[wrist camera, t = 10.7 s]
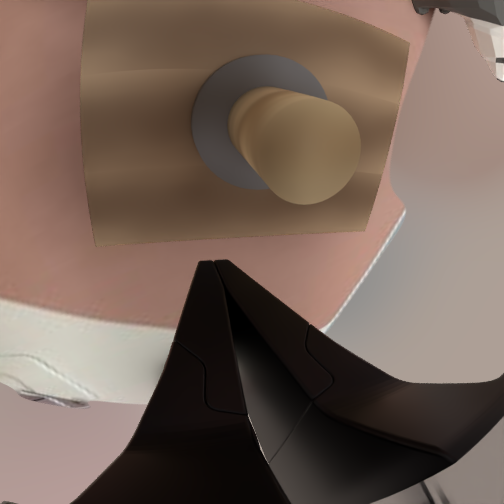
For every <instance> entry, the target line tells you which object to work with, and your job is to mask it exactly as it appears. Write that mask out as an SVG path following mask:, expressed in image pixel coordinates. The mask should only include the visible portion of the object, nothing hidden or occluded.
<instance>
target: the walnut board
mask: <svg viewBox="0 0 504 504" xmlns="http://www.w3.org/2000/svg"><path fill="white" fill-rule="evenodd" d="M409 46H410V43H409V42H407V41H405V40H403V39H401V38H399V37H397V36H395V35H393V34H391V33H389V32H386V31H384V30H382V29H380V28H377V27H375V26H372V25H370V24H368V23H365V22H363V21H360V20H357V19H355V18H352V17H349V16H347V15H344V14H341V13H338V12H335V11H332V10H329V9H326V8H322V7H319V6H316V5H312V4H308V3H305V2H301V1H297V0H88V2H87V8H86V15H85V23H84V32H83V42H82V55H81V76H80V118H81V140H82V154H83V165H84V175H85V184H86V192H87V199H88V206H89V212H90V219H91V224H92V230H93V235H94V241H95V246H96V247H99V246H112V245H126V244H140V243H155V242H170V241H185V240H202V239H218V238H236V237H254V236H273V235H293V234H314V233H336V232H360V231H365V229H366V226H367V223H368V220H369V217H370V214H371V211H372V208H373V204H374V201H375V198H376V195H377V191H378V188H379V184H380V181H381V177H382V174H383V170H384V167H385V163H386V159H387V155H388V151H389V147H390V144H391V139H392V135H393V131H394V127H395V122H396V118H397V113H398V109H399V104H400V99H401V94H402V89H403V83H404V78H405V72H406V66H407V60H408V53H409ZM266 54H267V55H277V56H281V57H285V58H288V59H290V60H293V61H295V62H297V63H299V64H300V65H302V66H303V67H305V68H306V69H307V70H309V71H310V72H311V73H312V74H313V75H314V76H315V77H316V79H317V80H318V81H319V83H320V84H321V86H322V88H323V89H324V91H325V94H326V96H327V99H328V101H331V102H333V103H335V104H338V105H339V106H341V107H342V108H344V109H345V110H346V111H347V112H348V113H349V114H350V115H351V117H352V118H353V120H354V121H355V123H356V125H357V127H358V130H359V134H360V139H361V153H360V158H359V162H358V165H357V167H356V170H355V172H354V174H353V176H352V177H351V179H350V180H349V181H348V183H347V184H346V185H345V186H344V187H343V188H342V189H341V190H340V191H339V192H338V193H336V194H335V195H334V196H332V197H330V198H328V199H326V200H324V201H322V202H318V203H314V204H307V205H302V204H294V203H291V202H288V201H285V200H283V199H282V198H280V197H279V196H277V195H276V194H275V193H274V192H273V191H272V190H271V189H262V190H254V189H245V188H240V187H237V186H234V185H232V184H230V183H227V182H225V181H224V180H222V179H221V178H219V177H218V176H217V175H215V174H214V173H213V172H212V171H211V170H210V169H209V168H208V167H207V165H206V164H205V163H204V161H203V160H202V158H201V156H200V154H199V152H198V150H197V148H196V145H195V143H194V139H193V136H192V130H191V114H192V108H193V104H194V101H195V98H196V96H197V94H198V92H199V90H200V88H201V87H202V85H203V84H204V82H205V81H206V80H207V79H208V78H209V76H210V75H212V74H213V73H214V72H215V71H216V70H217V69H219V68H220V67H222V66H223V65H225V64H227V63H229V62H231V61H233V60H235V59H238V58H241V57H246V56H252V55H266Z"/></svg>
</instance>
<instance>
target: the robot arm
mask: <svg viewBox="0 0 504 504" xmlns="http://www.w3.org/2000/svg"><path fill="white" fill-rule="evenodd" d="M247 411H248V412H247ZM248 414H249V417H250V419H251V422H252V424H253V427H254V429H255V431H254V429H253V427H252V424H251V422H250V420H249V417H248ZM255 432H256V434H255ZM256 435H257V436H256ZM257 437H258V439H257ZM258 440H259V442H260V445H261V447H262V449H263V452H264V455H265V457H266V459H267V461H268V463H269V464H268V463H267V461H266V459H265V457H264V455H263V454H262V452H261V450H260V446H259V442H258ZM1 504H16V503H13V502H7V501H3V502H2V503H1ZM70 504H504V373H503V375H501V376H500V377H499V378H497V379H495V380H492V381H488V382H480V383H457V384H454V383H451V384H450V383H448V384H436V383H435V384H433V383H430V384H429V383H410V382H406V381H402V380H399V379H397V378H394V377H392V376H390V375H389V374H387V373H385V372H383V371H382V370H380V369H378V368H377V367H375V366H373V365H372V364H370V363H368V362H366V361H365V360H363V359H362V358H360V357H358V356H356V355H355V354H353V353H351V352H350V351H349V350H347V349H345V348H344V347H342V346H341V345H339V344H338V343H336V342H334V341H333V340H331V339H330V338H329V337H328V336H326V335H325V334H324V333H322V332H321V331H319V330H318V329H317V328H315V327H314V326H313V325H312V324H310V325H309V322H307V321H306V320H305V319H304V318H302V317H301V316H300V315H298V314H297V313H296V312H294V311H293V310H292V309H291V308H289V307H288V306H287V305H285V304H284V303H283V302H281V301H280V300H279V299H278V298H276V297H275V296H274V295H272V294H271V293H270V292H269V291H267V290H266V289H265V288H263V287H262V286H261V285H260V284H258V283H257V282H256V281H255V280H253V279H252V278H251V277H249V276H248V275H247V274H246V273H244V272H243V271H242V270H241V269H239V268H238V267H237V266H236V265H234V264H233V263H232V262H230V261H229V260H215V261H214V262H213V261H212V260H208V261H199V262H198V265H197V268H196V271H195V274H194V277H193V280H192V283H191V286H190V289H189V292H188V295H187V298H186V301H185V304H184V307H183V311H182V314H181V317H180V320H179V323H178V327H177V330H176V333H175V336H174V340H173V342H172V346H171V349H170V352H169V355H168V358H167V361H166V364H165V366H164V370H163V372H162V374H161V377H160V379H159V381H158V384H157V386H156V388H155V390H154V392H153V395H152V397H151V399H150V401H149V403H148V405H147V407H146V409H145V412H144V414H143V416H142V418H141V420H140V422H139V424H138V427H137V429H136V431H135V433H134V435H133V436H132V438H131V440H130V442H129V443H128V445H127V446H126V448H125V449H124V450H123V452H122V453H121V454H120V455H119V456H118V457H117V458H116V459H115V460H114V462H112V463H111V464H110V466H108V467H107V469H105V471H103V473H102V474H101V475H100V476H99V477H98V478H97V479H96V480H95V481H94V482H93V483H92V484H91V485H90V486H89V487H88V488H87V489H85V491H83V492H82V493H81V495H79V496H78V498H76V499H75V500H74V501H73V502H71V503H70Z"/></svg>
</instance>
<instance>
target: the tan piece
mask: <svg viewBox="0 0 504 504" xmlns="http://www.w3.org/2000/svg"><path fill="white" fill-rule="evenodd" d="M191 130H192V136H193V139H194V143H195V145H196V148H197V150H198V152H199V154H200V156H201V158H202V160H203V161H204V163H205V164H206V165H207V167H208V168H209V169H210V170H211V171H212V172H213V173H214V174H215V175H217V176H218V177H219V178H221V179H222V180H224V181H225V182H227V183H230V184H232V185H234V186H237V187H240V188H245V189H254V190H262V189H271V190H272V191H273V192H274V193H275V194H276V195H277V196H279V197H280V198H282V199H283V200H285V201H288V202H291V203H294V204H302V205H307V204H314V203H318V202H322V201H324V200H326V199H328V198H330V197H332V196H334V195H335V194H336V193H338V192H339V191H340V190H341V189H342V188H343V187H344V186H345V185H346V184H347V183H348V181H349V180H350V179H351V177H352V176H353V174H354V172H355V170H356V167H357V165H358V162H359V158H360V153H361V139H360V134H359V130H358V127H357V125H356V123H355V121H354V120H353V118H352V117H351V115H350V114H349V113H348V112H347V111H346V110H345V109H344V108H342V107H341V106H339V105H338V104H335V103H333V102H331V101H328V99H327V96H326V94H325V91H324V89H323V88H322V86H321V84H320V83H319V81H318V80H317V79H316V77H315V76H314V75H313V74H312V73H311V72H310V71H309V70H307V69H306V68H305V67H303V66H302V65H300V64H299V63H297V62H295V61H293V60H290V59H288V58H285V57H281V56H277V55H267V54H266V55H252V56H246V57H241V58H238V59H235V60H233V61H231V62H229V63H227V64H225V65H223V66H222V67H220V68H219V69H217V70H216V71H215V72H214V73H213V74H212V75H210V76H209V78H208V79H207V80H206V81H205V82H204V84H203V85H202V87H201V88H200V90H199V92H198V94H197V96H196V98H195V101H194V104H193V108H192V114H191Z"/></svg>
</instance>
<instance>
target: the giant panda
mask: <svg viewBox="0 0 504 504" xmlns="http://www.w3.org/2000/svg"><path fill="white" fill-rule="evenodd" d="M412 2H413V5H414V8H415V10H416V12H417V13H418V14H421V15H423V14H426V13H428V11H429V8H439V10H440V12H441V13H443V14H447V13H449V12H450V11H451V12H454V13H456V14H458V15H460V16H461V17H463V18H464V19H465V22H466V25H467V27H468V30H469V33H470V35H471V38H472V41H473V44H474V46H475V48H476V49H477V51H478V52H479V53H480V55H481V56H482V57H483V58H485V60H486V62H487V64H488V67H489V69H490V70H491V71H492V73H493V75H494V76H495V77H496V78H497V80H499V81H501V82H504V0H412Z"/></svg>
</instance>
